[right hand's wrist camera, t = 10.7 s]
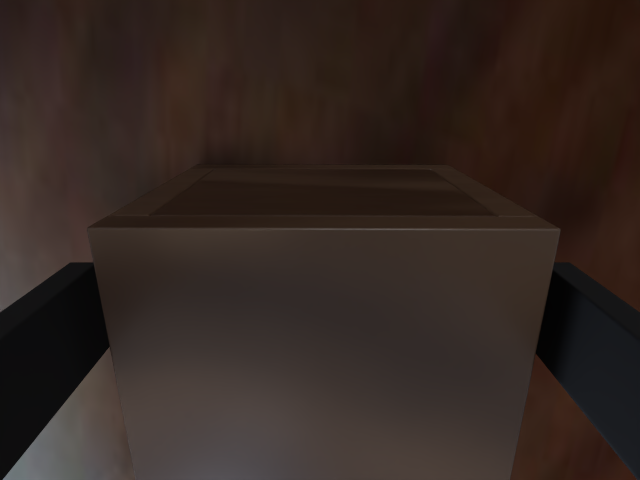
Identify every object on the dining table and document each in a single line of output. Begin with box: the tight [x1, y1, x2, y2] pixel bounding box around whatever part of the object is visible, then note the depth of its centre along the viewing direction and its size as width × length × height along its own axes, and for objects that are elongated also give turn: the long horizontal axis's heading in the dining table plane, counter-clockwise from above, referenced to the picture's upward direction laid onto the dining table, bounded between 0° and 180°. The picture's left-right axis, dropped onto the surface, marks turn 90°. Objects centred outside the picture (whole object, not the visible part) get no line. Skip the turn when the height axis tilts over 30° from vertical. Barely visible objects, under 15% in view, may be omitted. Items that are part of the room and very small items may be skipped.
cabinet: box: [87, 164, 560, 480], centre depth 17 cm, size 21×11×9 cm, turn 0°
